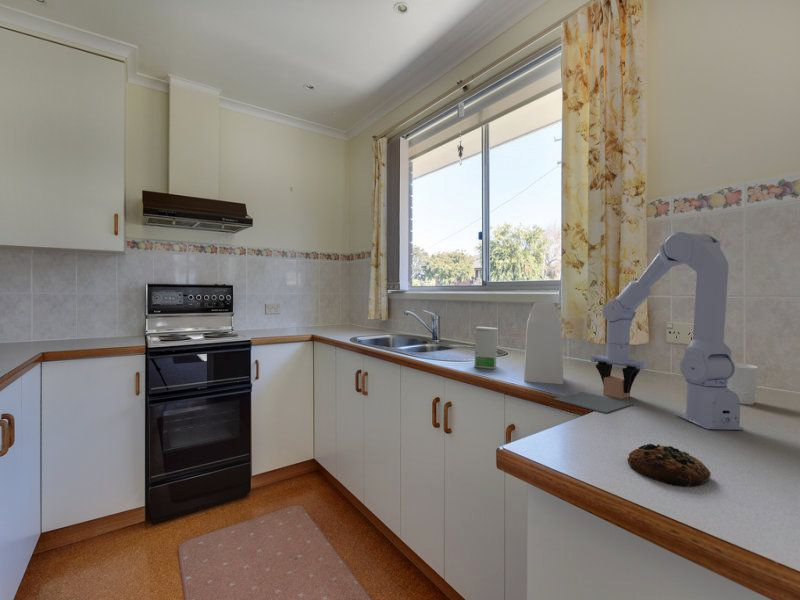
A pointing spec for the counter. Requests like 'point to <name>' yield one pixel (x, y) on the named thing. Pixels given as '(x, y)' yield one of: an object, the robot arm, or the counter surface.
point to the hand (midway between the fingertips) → (616, 390)
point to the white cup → (744, 382)
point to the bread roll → (668, 465)
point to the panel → (594, 402)
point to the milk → (543, 345)
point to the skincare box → (486, 347)
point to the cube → (614, 387)
